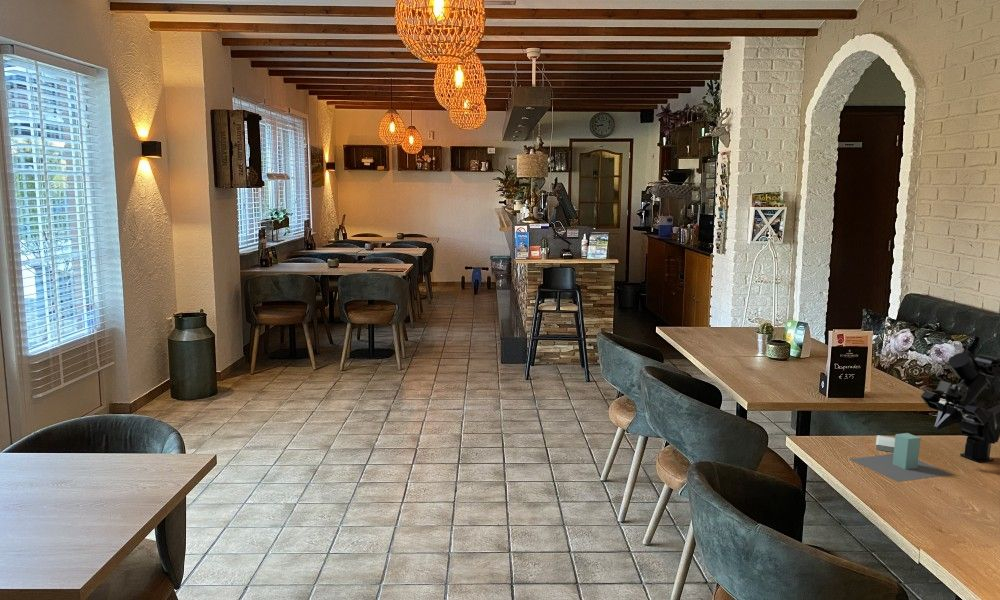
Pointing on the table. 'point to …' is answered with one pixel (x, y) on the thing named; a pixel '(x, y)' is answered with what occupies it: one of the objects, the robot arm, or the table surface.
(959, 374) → the robot arm
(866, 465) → the rubber mat
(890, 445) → the hard drive
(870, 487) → the table surface
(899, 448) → the teal block
